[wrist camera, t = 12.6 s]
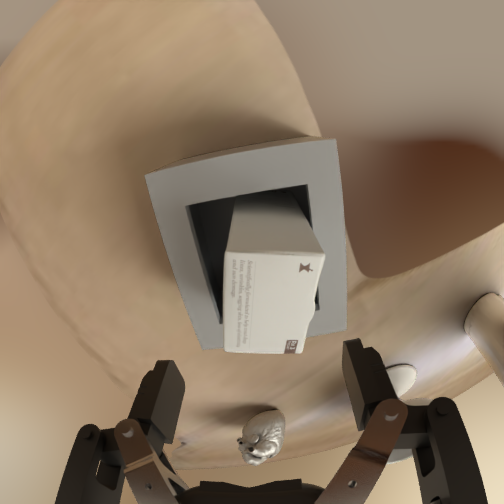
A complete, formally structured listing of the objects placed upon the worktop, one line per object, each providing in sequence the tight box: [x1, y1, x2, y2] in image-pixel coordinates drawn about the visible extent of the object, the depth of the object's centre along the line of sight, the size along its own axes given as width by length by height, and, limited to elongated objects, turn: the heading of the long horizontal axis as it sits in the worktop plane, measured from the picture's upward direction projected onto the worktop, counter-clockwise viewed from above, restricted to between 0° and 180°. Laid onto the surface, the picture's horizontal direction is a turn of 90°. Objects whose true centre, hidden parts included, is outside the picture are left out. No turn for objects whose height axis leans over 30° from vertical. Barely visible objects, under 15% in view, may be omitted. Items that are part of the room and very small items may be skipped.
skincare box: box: [223, 190, 325, 354], centre depth 23 cm, size 8×6×15 cm
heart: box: [237, 410, 285, 466], centre depth 42 cm, size 10×10×12 cm
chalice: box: [386, 365, 433, 464], centre depth 36 cm, size 14×14×15 cm
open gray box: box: [144, 136, 347, 350], centre depth 26 cm, size 14×17×10 cm
